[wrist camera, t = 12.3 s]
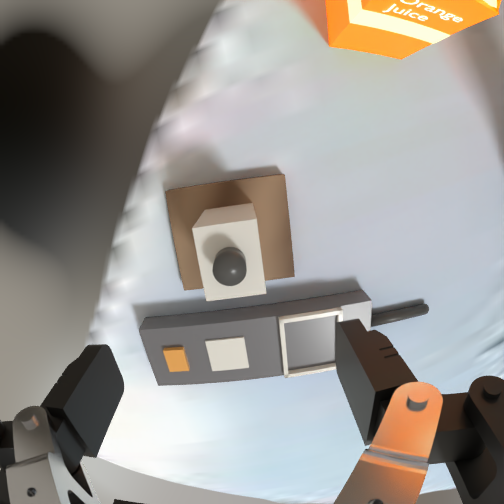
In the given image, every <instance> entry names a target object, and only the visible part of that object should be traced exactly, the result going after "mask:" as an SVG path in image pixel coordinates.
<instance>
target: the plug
mask: <svg viewBox="0 0 504 504" xmlns="http://www.w3.org/2000/svg"><path fill="white" fill-rule="evenodd" d="M192 230H193V236H194V241H195V247H196V252H197V257H198V262H199V267H200V272H201V277H202V282H203V287H204V292H205V297H206V301H214V300H222V299H230V298H238V297H245V296H253V295H260V294H266V287H265V279H264V271H263V263H262V256H261V248H260V240H259V233H258V225H257V218H256V214H255V211H254V207H253V203H248V204H241V205H234V206H227V207H220V208H213V209H207V210H204V212H203V213H202V215H201V216H200V217H199V219H198V220H197V222H196V223H195V225H194V226H193V228H192Z"/></svg>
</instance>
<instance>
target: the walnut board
mask: <svg viewBox="0 0 504 504" xmlns="http://www.w3.org/2000/svg"><path fill="white" fill-rule="evenodd" d="M165 193H166V199H167V205H168V211H169V217H170V222H171V228H172V233H173V238H174V244H175V249H176V254H177V259H178V264H179V268H180V273H181V278H182V282H183V287H184V290H193V289H202V288H204V287H203V282H202V277H201V272H200V267H199V262H198V257H197V252H196V247H195V241H194V236H193V230H192V228H193V226H194V225H195V223H196V222H197V220H198V219H199V217H200V216H201V215H202V213H203V212H204V210H207V209H213V208H220V207H227V206H234V205H241V204H248V203H253V207H254V211H255V214H256V218H257V225H258V233H259V240H260V248H261V256H262V263H263V271H264V279H265V281H266V280H273V279H281V278H288V277H295V276H294V264H293V252H292V241H291V231H290V221H289V211H288V201H287V192H286V183H285V175H284V174H278V175H269V176H261V177H253V178H245V179H237V180H230V181H223V182H216V183H209V184H203V185H196V186H190V187H184V188H178V189H172V190H168V191H165Z"/></svg>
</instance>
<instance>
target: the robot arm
mask: <svg viewBox="0 0 504 504" xmlns="http://www.w3.org/2000/svg"><path fill="white" fill-rule="evenodd" d="M335 361H336V369H337V374H338V377H339V379H340V382H341V384H342V387H343V389H344V392H345V394H346V397H347V400H348V402H349V405H350V407H351V410H352V412H353V415H354V418H355V420H356V423H357V425H358V428H359V431H360V433H361V436H362V439H363V441H364V444H365V446H366V445H370V444H371V445H370V447H369V449H365V451H364V452H363V454H362V455H361V457H360V459H359V461H358V463H357V464H356V466H355V468H354V470H353V472H352V473H351V475H350V477H349V479H348V480H347V482H346V484H345V486H344V487H343V489H342V491H341V492H340V494H339V496H338V497H337V499H336V500H335V502H334V504H415V503H416V501H417V498H418V496H419V493H420V490H421V488H422V485H423V482H424V479H425V476H426V473H427V470H428V466H429V464H437V463H446V465H447V467H448V470H449V472H450V474H451V476H452V479H453V481H454V483H455V485H456V488H457V490H458V492H459V495H460V497H461V500H462V502H463V504H504V380H503V379H501V378H499V377H495V376H483V377H479V378H477V379H476V380H474V381H473V382H472V384H471V386H470V388H469V391H468V392H466V393H456V394H441V393H440V391H439V390H438V389H437V388H436V387H434V386H432V385H431V384H428V383H424V382H418V381H417V379H416V378H415V376H414V375H413V373H412V372H411V370H410V369H409V367H408V366H407V365H406V363H405V362H404V360H403V359H402V357H401V356H400V355H399V354H398V352H397V350H396V349H395V348H393V345H392V343H391V342H390V341H389V339H388V338H387V336H385V335H383V334H382V333H380V332H378V331H376V330H371V331H367V330H366V328H365V327H364V325H363V324H362V322H361V321H360V319H358V318H357V319H352V320H346V321H341V322H337V323H336V355H335ZM123 392H124V381H123V377H122V375H121V373H120V370H119V368H118V366H117V363H116V361H115V358H114V356H113V353H112V351H111V349H110V347H109V346H108V345H106V344H104V345H88V346H87V347H86V348H85V349H84V351H83V352H82V353H81V355H80V356H79V358H77V359H76V360H75V361H73V362H72V363H71V364H69V365H68V366H67V368H66V369H65V371H64V372H63V373H62V376H61V377H60V378H59V379H58V381H57V383H55V385H54V386H53V388H52V389H51V391H50V392H49V394H48V395H47V397H46V398H45V400H44V401H43V403H42V404H41V406H30V407H27V408H25V409H23V410H21V411H20V412H19V413H18V414H17V415H16V416H15V418H14V420H13V421H5V422H1V420H0V468H1V470H0V504H101V503H100V501H99V499H98V497H97V495H96V492H95V490H94V488H93V486H92V483H91V480H90V478H89V476H88V473H87V470H86V468H85V466H84V464H83V463H82V461H81V459H82V457H83V456H89V457H95V458H96V457H97V454H98V452H99V449H100V447H101V444H102V442H103V439H104V437H105V435H106V432H107V430H108V427H109V425H110V423H111V420H112V418H113V416H114V413H115V411H116V409H117V406H118V404H119V402H120V399H121V397H122V395H123ZM113 504H143V503H135V502H128V501H123V500H117V499H114V503H113Z"/></svg>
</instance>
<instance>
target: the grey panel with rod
mask: <svg viewBox="0 0 504 504" xmlns="http://www.w3.org/2000/svg"><path fill="white" fill-rule="evenodd" d="M371 309H372V300H371V299H370V298H369V297H368V295H367V294H366V293H365V292H364V291H363V290H359V291H353V292H347V293H341V294H335V295H329V296H322V297H316V298H309V299H303V300H296V301H289V302H282V303H275V304H267V305H260V306H252V307H244V308H236V309H227V310H218V311H209V312H200V313H190V314H180V315H170V316H158V317H146V318H145V319H144V321H143V323H142V325H141V327H140V329H139V332H140V336H141V339H142V342H143V345H144V347H145V350H146V353H147V356H148V359H149V362H150V364H151V367H152V370H153V373H154V375H155V378H156V381H157V383H158V386H161V385H187V384H204V383H217V382H229V381H239V380H249V379H258V378H266V377H273V376H281V375H284V377H285V378H288V377H295V376H301V375H307V374H313V373H319V372H324V371H330V370H335V369H336V361H335V355H336V323H337V322H341V321H346V320H352V319H357V318H358V319H360V321H361V322H362V324H363V325H364V327H365V328H366V330H367V331H370V327H373V326H377V325H382V324H387V323H391V322H395V321H400V320H404V319H408V318H412V317H416V316H420V315H424V314H427V313H428V311H429V307H428V305H427V304H421V305H416V306H412V307H408V308H403V309H399V310H394V311H389V312H385V313H380V314H375V315H371Z"/></svg>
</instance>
